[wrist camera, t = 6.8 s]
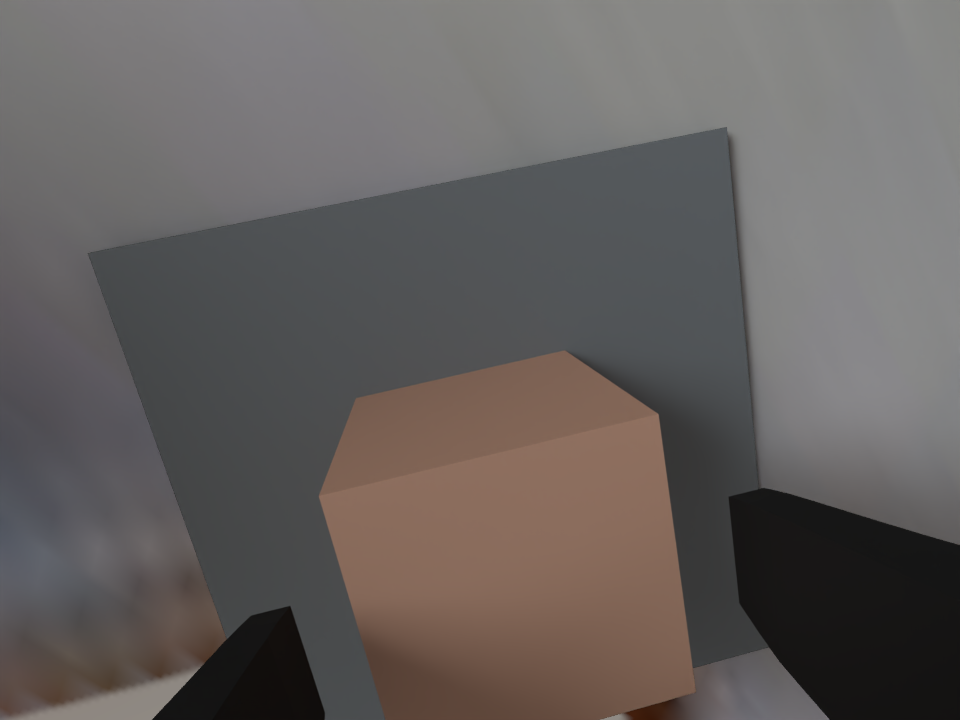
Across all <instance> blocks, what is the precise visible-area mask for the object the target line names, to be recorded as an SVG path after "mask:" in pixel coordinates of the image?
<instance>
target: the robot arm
mask: <svg viewBox="0 0 960 720" xmlns="http://www.w3.org/2000/svg"><path fill="white" fill-rule="evenodd" d="M728 498H729V508H730V518H731V527H732V537H733V547H734V557H735V567H736V576H737V586H738V596H739V604H740V605H741V607H742V608H743V610H744V611H745V613H746V614H747V616H748V617H749V619H750V620H751V622H752V623H753V625H754V626H755V628H756V629H757V631H758V632H759V634H760V635H761V636H762V638H763V639H764V641H765V642H766V643H767V645H768V646H769V648H770V649H771V650H772V652H773V653H774V655H775V656H776V657H777V659H778V660H779V662H780V663H781V664H782V665H783V666H784V667H785V669H786V670H787V671H788V672H789V673H790V674H791V676H792V677H793V678H794V679H795V680H796V681H797V683H798V684H799V685H800V686H801V687H802V688H803V689H804V691H805V692H806V693H807V694H808V695H809V696H810V697H811V699H812V700H813V701H814V702H815V703H816V704H817V706H818V707H819V708H820V709H821V710H822V711H823V712H824V714H825V715H826V716H827V717H828V718H829V719H830V720H960V545H957V544H954V543H950V542H947V541H943V540H940V539H936V538H933V537H929V536H926V535H922V534H919V533H916V532H912V531H909V530H906V529H902V528H899V527H896V526H892V525H889V524H886V523H883V522H879V521H876V520H873V519H870V518H866V517H863V516H860V515H857V514H854V513H850V512H847V511H844V510H841V509H837V508H834V507H831V506H828V505H824V504H821V503H818V502H815V501H811V500H808V499H804V498H801V497H798V496H794V495H791V494H787V493H783V492H779V491H775V490H770V489H766V488H761V489H757V490H753V491H749V492H745V493H741V494H737V495H733V496H729V497H728ZM152 720H325V711H324V708H323V705H322V702H321V699H320V696H319V693H318V689H317V686H316V683H315V680H314V677H313V674H312V671H311V668H310V665H309V662H308V659H307V655H306V652H305V649H304V646H303V643H302V640H301V637H300V634H299V631H298V628H297V625H296V622H295V618H294V615H293V612H292V609H291V606H287V607H283V608H279V609H275V610H271V611H267V612H263V613H259V614H255V615H251V616H250V617H249V618H248V619H247V620H246V621H245V622H244V623H243V624H242V625H241V626H240V627H239V628H238V629H237V630H236V631H235V632H234V633H233V634H232V635H231V636H230V637H229V638H228V639H227V640H226V641H225V642H224V643H223V644H222V645H221V646H220V647H219V648H218V649H217V651H216V652H215V653H214V654H213V655H212V656H211V657H210V658H209V659H208V660H207V661H206V662H205V663H204V665H203V666H202V667H201V668H200V669H199V670H198V671H197V672H196V673H195V674H194V675H193V676H192V678H191V679H190V680H189V681H188V682H187V683H186V684H185V685H184V686H183V687H182V688H181V689H180V690H179V691H178V693H177V694H176V695H175V696H174V697H173V698H172V699H171V700H170V701H169V702H168V703H167V704H166V705H165V706H164V708H163V709H162V710H161V711H160V712H159V713H158V714H157V715H156V716H155V717H154V718H153V719H152Z"/></svg>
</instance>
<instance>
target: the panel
mask: <svg viewBox="0 0 960 720" xmlns="http://www.w3.org/2000/svg"><path fill="white" fill-rule="evenodd" d="M88 255H89V258H90V260H91V263H92V266H93V269H94V271H95V274H96V277H97V280H98V283H99V285H100V288H101V291H102V294H103V296H104V299H105V302H106V305H107V308H108V310H109V313H110V316H111V319H112V321H113V324H114V327H115V330H116V333H117V335H118V338H119V341H120V344H121V346H122V349H123V352H124V355H125V358H126V360H127V363H128V366H129V369H130V371H131V374H132V377H133V380H134V383H135V385H136V388H137V391H138V394H139V396H140V399H141V402H142V405H143V407H144V410H145V413H146V416H147V419H148V421H149V424H150V427H151V430H152V432H153V435H154V438H155V441H156V444H157V446H158V449H159V452H160V455H161V457H162V460H163V463H164V466H165V469H166V471H167V474H168V477H169V480H170V482H171V485H172V488H173V491H174V494H175V496H176V499H177V502H178V505H179V507H180V510H181V513H182V516H183V519H184V521H185V524H186V527H187V530H188V532H189V535H190V538H191V541H192V544H193V546H194V549H195V552H196V555H197V557H198V560H199V563H200V566H201V568H202V571H203V574H204V577H205V580H206V582H207V585H208V588H209V591H210V593H211V596H212V599H213V602H214V605H215V607H216V610H217V613H218V616H219V618H220V621H221V624H222V627H223V630H224V632H225V635H226V638H227V639H228V638H229V637H230V636H231V635H232V634H233V633H234V632H235V631H236V630H237V629H238V628H239V627H240V626H241V625H242V624H243V623H244V622H245V621H246V620H247V619H248V618H249V617H250V616H251V615H255V614H259V613H263V612H267V611H271V610H275V609H279V608H283V607H287V606H291V609H292V612H293V615H294V618H295V622H296V625H297V628H298V631H299V634H300V637H301V640H302V643H303V646H304V649H305V652H306V655H307V659H308V662H309V665H310V668H311V671H312V674H313V677H314V680H315V683H316V686H317V689H318V693H319V696H320V699H321V702H322V705H323V708H324V711H325V720H385V716H384V713H383V710H382V706H381V703H380V700H379V696H378V693H377V690H376V686H375V683H374V680H373V676H372V673H371V670H370V666H369V663H368V660H367V656H366V653H365V649H364V646H363V643H362V639H361V636H360V633H359V629H358V626H357V623H356V619H355V616H354V613H353V609H352V606H351V603H350V599H349V596H348V593H347V589H346V586H345V582H344V579H343V576H342V572H341V569H340V566H339V562H338V559H337V556H336V552H335V549H334V546H333V542H332V539H331V536H330V532H329V529H328V525H327V522H326V519H325V515H324V512H323V509H322V505H321V502H320V499H319V494H320V492H321V489H322V486H323V484H324V481H325V478H326V476H327V473H328V470H329V468H330V465H331V463H332V460H333V457H334V455H335V452H336V449H337V447H338V444H339V441H340V439H341V436H342V434H343V431H344V428H345V426H346V423H347V420H348V418H349V415H350V412H351V410H352V407H353V405H354V402H355V399H356V398H359V397H364V396H368V395H372V394H377V393H381V392H385V391H390V390H394V389H398V388H403V387H407V386H412V385H416V384H420V383H425V382H429V381H433V380H438V379H442V378H446V377H451V376H455V375H460V374H464V373H468V372H473V371H477V370H481V369H486V368H490V367H494V366H499V365H503V364H508V363H512V362H516V361H521V360H525V359H529V358H534V357H538V356H542V355H547V354H551V353H556V352H560V351H564V350H565V351H567V352H568V353H570V354H571V355H573V356H574V357H575V358H577V359H578V360H580V361H581V362H583V363H584V364H586V365H587V366H589V367H590V368H592V369H593V370H595V371H596V372H597V373H599V374H600V375H602V376H603V377H605V378H606V379H608V380H609V381H611V382H612V383H614V384H615V385H617V386H618V387H619V388H621V389H622V390H624V391H625V392H627V393H628V394H630V395H631V396H633V397H634V398H636V399H637V400H639V401H640V402H641V403H643V404H644V405H646V406H647V407H649V408H650V409H652V410H653V411H655V412H656V413H658V414H659V421H660V429H661V436H662V444H663V451H664V459H665V466H666V473H667V481H668V488H669V496H670V503H671V511H672V518H673V525H674V533H675V540H676V548H677V555H678V563H679V570H680V577H681V585H682V592H683V600H684V607H685V615H686V622H687V629H688V637H689V644H690V652H691V659H692V667H693V668H695V667H699V666H702V665H706V664H710V663H713V662H717V661H721V660H724V659H728V658H731V657H735V656H739V655H742V654H746V653H750V652H753V651H757V650H760V649H764V648H768V647H769V646H768V645H767V643H766V642H765V641H764V639H763V638H762V636H761V635H760V634H759V632H758V631H757V629H756V628H755V626H754V625H753V623H752V622H751V620H750V619H749V617H748V616H747V614H746V613H745V611H744V610H743V608H742V607H741V605H740V604H739V596H738V586H737V576H736V567H735V557H734V547H733V537H732V527H731V518H730V508H729V498H728V497H729V496H733V495H737V494H741V493H745V492H749V491H753V490H757V489H759V487H758V475H757V464H756V453H755V441H754V430H753V419H752V407H751V396H750V385H749V373H748V362H747V351H746V339H745V328H744V317H743V305H742V294H741V283H740V272H739V260H738V249H737V238H736V226H735V215H734V204H733V192H732V181H731V170H730V158H729V147H728V136H727V127H725V128H720V129H715V130H710V131H705V132H700V133H695V134H690V135H685V136H680V137H675V138H670V139H664V140H659V141H654V142H649V143H644V144H639V145H634V146H629V147H624V148H619V149H614V150H609V151H604V152H599V153H593V154H588V155H583V156H578V157H573V158H568V159H563V160H558V161H553V162H548V163H543V164H538V165H533V166H528V167H522V168H517V169H512V170H507V171H502V172H497V173H492V174H487V175H482V176H477V177H472V178H467V179H462V180H457V181H451V182H446V183H441V184H436V185H431V186H426V187H421V188H416V189H411V190H406V191H401V192H396V193H391V194H386V195H380V196H375V197H370V198H365V199H360V200H355V201H350V202H345V203H340V204H335V205H330V206H325V207H320V208H315V209H309V210H304V211H299V212H294V213H289V214H284V215H279V216H274V217H269V218H264V219H259V220H254V221H249V222H244V223H238V224H233V225H228V226H223V227H218V228H213V229H208V230H203V231H198V232H193V233H188V234H183V235H178V236H173V237H167V238H162V239H157V240H152V241H147V242H142V243H137V244H132V245H127V246H122V247H117V248H112V249H107V250H102V251H96V252H91V253H88Z"/></svg>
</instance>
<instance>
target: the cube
mask: <svg viewBox="0 0 960 720" xmlns="http://www.w3.org/2000/svg"><path fill="white" fill-rule="evenodd" d="M319 499H320V502H321V505H322V509H323V512H324V515H325V519H326V522H327V525H328V529H329V532H330V536H331V539H332V542H333V546H334V549H335V552H336V556H337V559H338V562H339V566H340V569H341V572H342V576H343V579H344V582H345V586H346V589H347V593H348V596H349V599H350V603H351V606H352V609H353V613H354V616H355V619H356V623H357V626H358V629H359V633H360V636H361V639H362V643H363V646H364V649H365V653H366V656H367V660H368V663H369V666H370V670H371V673H372V676H373V680H374V683H375V686H376V690H377V693H378V696H379V700H380V703H381V706H382V710H383V713H384V716H385V720H600V719H604V718H607V717H611V716H614V715H618V714H621V713H625V712H628V711H632V710H635V709H639V708H643V707H646V706H650V705H653V704H657V703H660V702H664V701H667V700H671V699H674V698H678V697H681V696H685V695H688V694H692V693H695V692H696V689H695V681H694V674H693V667H692V659H691V652H690V644H689V637H688V629H687V622H686V615H685V607H684V600H683V592H682V585H681V577H680V570H679V563H678V555H677V548H676V540H675V533H674V525H673V518H672V511H671V503H670V496H669V488H668V481H667V473H666V466H665V459H664V451H663V444H662V436H661V429H660V421H659V414H658V413H656V412H655V411H653V410H652V409H650V408H649V407H647V406H646V405H644V404H643V403H641V402H640V401H639V400H637V399H636V398H634V397H633V396H631V395H630V394H628V393H627V392H625V391H624V390H622V389H621V388H619V387H618V386H617V385H615V384H614V383H612V382H611V381H609V380H608V379H606V378H605V377H603V376H602V375H600V374H599V373H597V372H596V371H595V370H593V369H592V368H590V367H589V366H587V365H586V364H584V363H583V362H581V361H580V360H578V359H577V358H575V357H574V356H573V355H571V354H570V353H568V352H567V351H565V350H564V351H560V352H556V353H551V354H547V355H542V356H538V357H534V358H529V359H525V360H521V361H516V362H512V363H508V364H503V365H499V366H494V367H490V368H486V369H481V370H477V371H473V372H468V373H464V374H460V375H455V376H451V377H446V378H442V379H438V380H433V381H429V382H425V383H420V384H416V385H412V386H407V387H403V388H398V389H394V390H390V391H385V392H381V393H377V394H372V395H368V396H364V397H359V398H356V399H355V402H354V405H353V407H352V410H351V412H350V415H349V418H348V420H347V423H346V426H345V428H344V431H343V434H342V436H341V439H340V441H339V444H338V447H337V449H336V452H335V455H334V457H333V460H332V463H331V465H330V468H329V470H328V473H327V476H326V478H325V481H324V484H323V486H322V489H321V492H320V494H319Z"/></svg>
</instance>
